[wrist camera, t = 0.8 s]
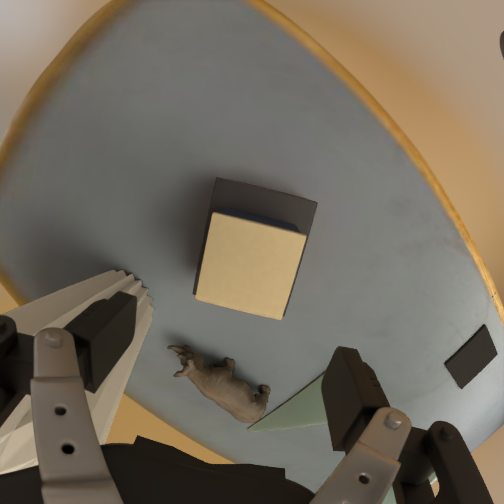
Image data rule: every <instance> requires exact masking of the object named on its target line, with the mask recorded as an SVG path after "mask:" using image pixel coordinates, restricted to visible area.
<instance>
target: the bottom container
mask: <svg viewBox="0 0 504 504" xmlns="http://www.w3.org/2000/svg"><path fill="white" fill-rule="evenodd" d="M317 204H318V203H317V202H315V201H311V200H308V199H305V198H301V197H297V196H294V195H290V194H286V193H282V192H278V191H274V190H270V189H266V188H262V187H258V186H254V185H250V184H246V183H242V182H237V181H233V180H229V179H223V178H219V177H217V178H216V182H215V186H214V191H213V195H212V200H211V204H210V209H209V213H208V218H207V223H206V227H205V232H204V237H203V242H202V247H201V252H200V257H199V262H198V267H197V272H196V278H195V283H194V288H193V294H194V295H196V292H197V287H198V282H199V276H200V271H201V266H202V261H203V256H204V251H205V246H206V241H207V237H208V232H209V227H210V223H211V218H212V214H213V213H214V212H217V213H219V212H220V211H221V210H222V209H224V208H225V207H226V208H230V209H235V210H239V211H243V212H247V213H251V214H255V215H259V216H263V217H267V218H271V219H275V220H279V221H283V222H287V223H291V224H295V225H297V227H298V229H299V231H300V233H301V234H305V235H306V240H305V244H304V247H303V251H302V254H301V258H300V261H299V264H298V268H297V271H296V274H295V278H294V281H293V284H292V288H291V291H290V294H289V297H288V301H287V304H286V307H285V310H284V313H283V316H284V315H285V312H286V309H287V306H288V303H289V300H290V296H291V293H292V290H293V287H294V284H295V280H296V277H297V274H298V270H299V267H300V264H301V260H302V257H303V254H304V250H305V247H306V243H307V240H308V236H309V233H310V229H311V226H312V222H313V219H314V215H315V211H316V208H317Z"/></svg>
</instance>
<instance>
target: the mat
mask: <svg viewBox="0 0 504 504" xmlns="http://www.w3.org/2000/svg"><path fill="white" fill-rule="evenodd" d="M496 355H497V351H496V348H495V346H494V343H493V341H492V339H491V336H490V334H489V332H488V329H487V327H486V325H485V324H484V325H483V326H482V327H481V328H480V329H479V330H478V332H477V333H476V334H475V335H474V336H473V337H472V338H471V339H470V340H469V341H468V342H467V343H466V344H465V345H464V346H463V347H462V348H461V349H459V350H458V351H457V352H456V353H455V354H454V355H453V356H452V357H451V358H450V359H449V360H448V361H447V362H445V365H446V367H447V368H448V370H449V371H450V373H451V374H452V376H453V377H454V379H455V380H456V382H457V383H458V385H459V387H460V388H461V389H462V388H463V387H464V386H466V385H467V384H468V383H469V382H470V381H471V380H472V379H473V378H474V377H475V376H476V375H477V374H478V373H479V372H481V371H482V370H483V369H484V368H485V367H486V366H487V365H488V364H489V363H490V362H491V361H492V360H493V358H494V357H495V356H496Z"/></svg>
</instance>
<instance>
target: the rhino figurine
mask: <svg viewBox="0 0 504 504" xmlns="http://www.w3.org/2000/svg"><path fill="white" fill-rule="evenodd" d="M167 349H172V350H174V351H175V352H177V353H178V355H177V357H179V358H180V359H181V364H182V365H183V366H184V367H183V370H182V371H177V372H176V373H175V374H174V377H180V376H187V377H188V378H189V379H190V380H191V381H192V382H193V383H194V384H195V385H196V387H197V388H198V389H199V390H200V392H201V393H202V394H203V395H204V396H205V397H207V398H208V399H210V400H212V401H214V402H215V403H216V404H217V405H219V406H220V407H221V408H223V409H224V410H226V411H227V412H229V413H230V414H231V415H233V417H234V418H235V419H237V420H239V421H241V422H244V423H252V422H256V421H259V420H260V419H261V416H262V415H263V414H264V411H265V410H266V403H267V402H268V395H269V394H270V388H269V387H267V386H265V385H262V386H261V387H260V388H259V393H260V394H261V395H260V394H257V393H256V394H255V395H254V393H253V392H252V390H251V388H250V387H249V385H248V384H247V383H246V382H245V381H243V380H242V379H238V378H234V377H233V375H232V370H234V369H235V361H234V360H231V359H228V358H227V359H225V361H224V366H225V367H216V366H215V365H211V366H210V367H208V366H205V365H204V360H203V358H202V357H201V356H200V355H199V354H197V353H196V352H195V351H193V350H192V349H191V348H190V346H188V345H184V346H175V345H171V346H168V347H167Z"/></svg>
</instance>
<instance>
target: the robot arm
mask: <svg viewBox="0 0 504 504" xmlns="http://www.w3.org/2000/svg"><path fill="white" fill-rule="evenodd" d="M136 313H137V297H136V296H134V295H131V294H128V293H125V292H122V291H118V292H116V293H115V294H114V295H113V296H112V297H111V298H109V299H108V300H107V299H105V298H104V299H101V300H98V301H95V302H93V303H92V304H91V305H89V306H88V307H87V308H86V309H85V310H83V311H82V312H81V314H79V315H77V316H76V317H75V318H74V319H73V320H71V321H70V322H69V323H68V324H67V325H66V326H64V327H63V328H57V327H49V328H45V329H42V330H40V331H39V332H37V333H36V335H35V336H32V335H27V334H23V333H19V332H17V327H16V323H15V321H14V320H13V319H12V318H11V317H9V316H6V315H0V428H1V426H2V425H3V424H4V422H5V421H6V420H7V418H8V417H9V416H10V415H11V413H12V412H13V411H14V409H15V408H16V407H17V406H18V404H19V403H20V402H21V401H22V399H23V398H24V397H25V396H26V395H30V396H31V408H32V420H33V430H34V438H35V446H36V452H37V459H38V464H39V465H36V466H32V467H28V468H25V469H21V470H17V471H13V472H9V473H4V474H0V504H382V503H383V501H384V499H385V497H386V495H387V493H388V491H389V489H390V487H391V485H392V487H393V491H394V495H395V500H396V504H494V503H493V501H492V498H491V496H490V494H489V491H488V490H487V487H486V485H485V483H484V480H483V478H482V476H481V474H480V472H479V470H478V468H477V466H476V464H475V462H474V460H473V458H472V456H471V454H470V452H469V450H468V448H467V446H466V444H465V442H464V440H463V438H462V436H461V434H460V432H459V431H458V430H457V428H456V427H454V426H453V425H452V424H450V423H448V422H445V421H436V422H434V423H433V424H432V425H431V427H430V428H429V429H428V430H423V429H419V428H415V427H412V426H411V422H410V419H409V418H408V417H407V416H406V415H405V414H404V413H403V412H402V411H400V410H398V409H395V408H392V407H390V405H389V402H388V400H387V398H386V396H385V394H384V392H383V389H382V387H380V386H381V385H380V383H379V381H378V380H377V377H376V375H375V373H374V370H373V369H372V368H371V367H370V366H369V365H368V364H367V363H365V362H363V361H362V359H361V357H360V355H359V353H358V351H357V349H353V348H347V347H341V346H339V347H337V348H336V350H335V352H334V354H333V356H332V359H331V361H330V363H329V365H328V367H327V370H326V372H325V374H324V376H323V379H322V383H321V393H322V397H323V402H324V407H325V412H326V417H327V421H328V426H329V431H330V436H331V441H332V446H333V451H345V453H346V456H345V457H344V458H343V460H342V461H341V462H340V463H339V465H338V466H337V467H336V469H335V470H334V471H333V472H332V474H331V475H330V476H329V478H328V479H327V480H326V481H325V482H324V484H323V485H322V486H321V487H320V488H319V490H318V491H317V492H316V493H315V494H314V493H313V492H312V491H310V490H309V489H307V488H306V487H304V486H302V485H300V484H298V483H296V482H293V481H291V480H288V479H285V468H276V467H268V466H261V465H254V464H209V463H206V462H204V461H202V460H199V459H197V458H195V457H193V456H191V455H189V454H187V453H185V452H183V451H181V450H178V449H176V448H175V447H173V446H169V445H166V444H162V443H159V442H156V441H153V440H150V439H147V438H144V437H141V436H138V435H137V437H136V440H135V442H134V444H127V443H110V444H102V445H100V444H99V441H98V438H97V434H96V431H95V428H94V424H93V421H92V417H91V413H90V410H89V406H88V402H87V398H86V393H85V390H86V391H89V392H91V393H93V394H95V393H96V391H97V390H98V389H99V387H100V386H101V384H102V383H103V382H104V380H105V379H106V377H107V376H108V375H109V373H110V372H111V370H112V369H113V368H114V366H115V365H116V364H117V362H118V361H119V359H120V358H121V357H122V355H123V354H124V353H125V351H126V350H127V349H128V347H129V346H130V344H131V343H132V341H133V338H134V334H135V325H136ZM434 472H435V474H436V477H437V479H438V482H439V492H438V495H437V496H436V497H435V496H434V493H433V491H432V487H431V484H430V481H429V477H430V476H431V475H432V474H433V473H434Z"/></svg>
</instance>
